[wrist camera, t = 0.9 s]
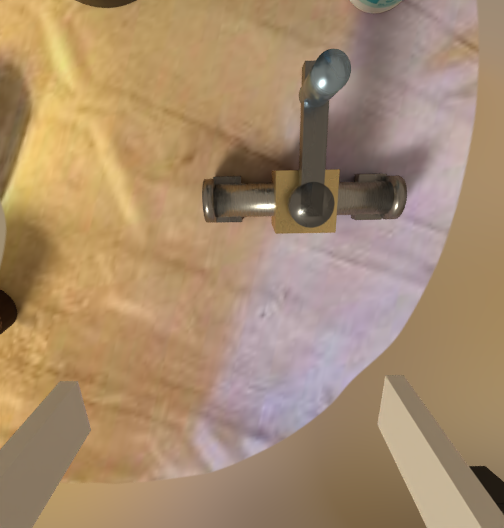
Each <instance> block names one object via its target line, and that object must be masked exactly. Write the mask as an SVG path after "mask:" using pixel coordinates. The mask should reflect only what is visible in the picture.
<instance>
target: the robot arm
mask: <svg viewBox="0 0 504 528" xmlns="http://www.w3.org/2000/svg"><path fill="white" fill-rule="evenodd" d="M76 1H78V2H81V3H83V4H86V5H90V6H94V7H101V8H112V7H119V6H123V5H126V4H129V3H132V2H134V1H136V0H76ZM378 427H379V429H380V431H381V433H382V435H383V437H384V439H385V441H386V443H387V445H388V447H389V450H390V452H391V454H392V456H393V458H394V460H395V462H396V464H397V466H398V468H399V470H400V472H401V475H402V477H403V479H404V481H405V483H406V485H407V487H408V489H409V491H410V493H411V495H412V497H413V499H414V501H415V503H416V505H417V508H418V510H419V512H420V514H421V516H422V518H423V520H424V522H425V524H426V526H427V528H504V482H503V481H502V480H501V479H500V478H498V477H497V476H496V475H495V474H494V473H493V472H491V471H490V470H489V469H488V468H487V467H485V466H468V464H467V463H466V462H465V460H464V459H463V457H462V456H461V455H460V453H459V452H458V450H457V449H456V448H455V446H454V445H453V443H452V442H451V441H450V439H449V438H448V437H447V435H446V434H445V432H444V431H443V430H442V428H441V427H440V425H439V424H438V422H437V421H436V420H435V418H434V417H433V416H432V414H431V413H430V411H429V410H428V409H427V407H426V406H425V404H424V403H423V402H422V400H421V399H420V397H419V396H418V395H417V393H416V392H415V391H414V389H413V388H412V386H411V385H410V384H409V382H408V381H407V379H406V378H405V377H404V375H390V376H385V382H384V388H383V394H382V400H381V407H380V413H379V419H378ZM90 431H91V428H90V424H89V420H88V417H87V413H86V409H85V406H84V402H83V398H82V395H81V391H80V387H79V384H78V381H60V382H59V383H58V384H57V385H56V387H55V388H54V389H53V390H52V391H51V392H50V393H49V395H48V396H47V397H46V398H45V399H44V400H43V401H42V403H41V404H40V405H39V406H38V407H37V408H36V409H35V411H34V412H33V413H32V414H31V415H30V416H29V417H28V418H27V420H26V421H25V422H24V423H23V424H22V425H21V426H20V428H19V429H18V430H17V431H16V432H15V433H14V434H13V436H12V437H11V438H10V439H9V440H8V441H7V442H6V444H5V445H4V446H3V447H2V448H1V449H0V528H32V527H33V525H34V524H35V522H36V520H37V519H38V517H39V515H40V514H41V512H42V510H43V509H44V507H45V505H46V504H47V502H48V500H49V499H50V497H51V496H52V494H53V492H54V491H55V489H56V487H57V486H58V484H59V482H60V481H61V479H62V477H63V476H64V474H65V472H66V471H67V469H68V467H69V466H70V464H71V462H72V461H73V459H74V457H75V456H76V454H77V452H78V451H79V449H80V447H81V446H82V444H83V442H84V441H85V439H86V437H87V436H88V434H89V432H90Z"/></svg>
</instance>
